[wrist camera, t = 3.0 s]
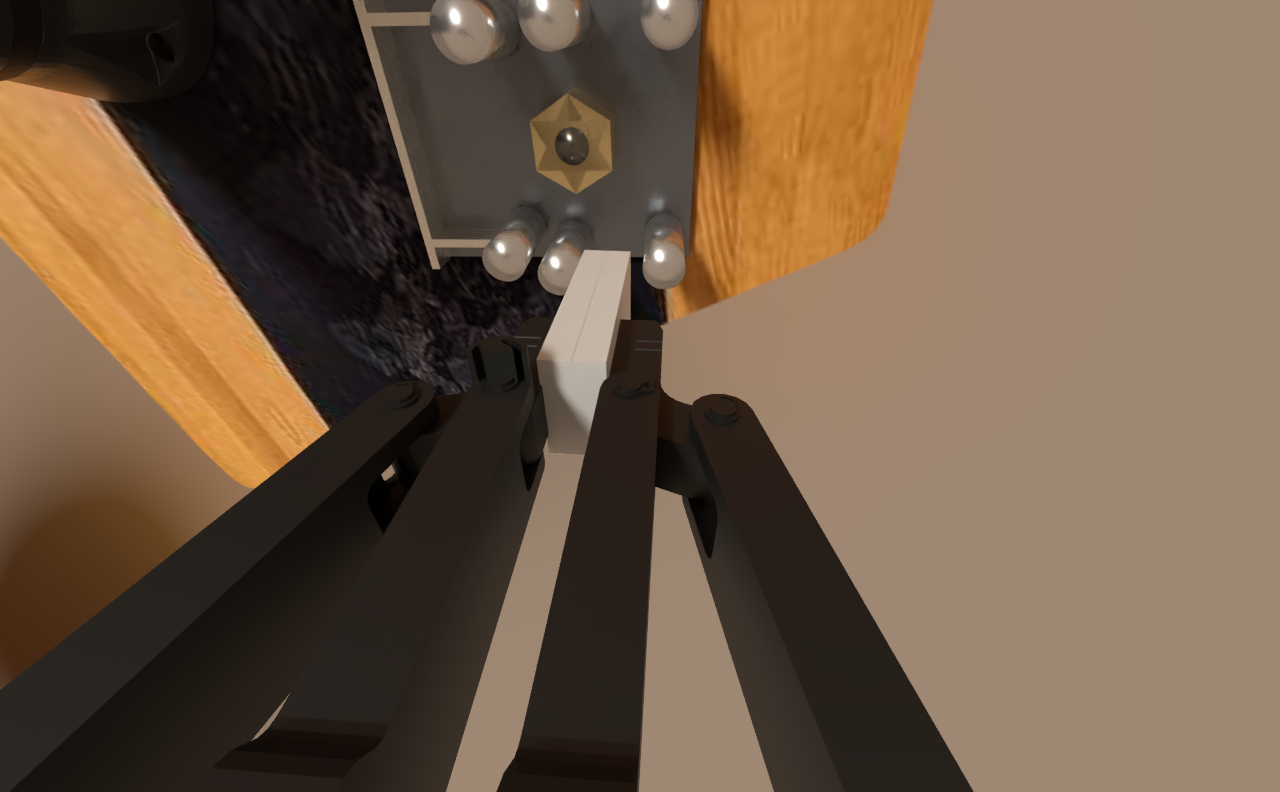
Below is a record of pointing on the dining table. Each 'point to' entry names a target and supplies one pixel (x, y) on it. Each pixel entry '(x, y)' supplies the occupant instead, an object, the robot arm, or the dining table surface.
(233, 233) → the dining table surface
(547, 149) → the nut
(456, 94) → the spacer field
